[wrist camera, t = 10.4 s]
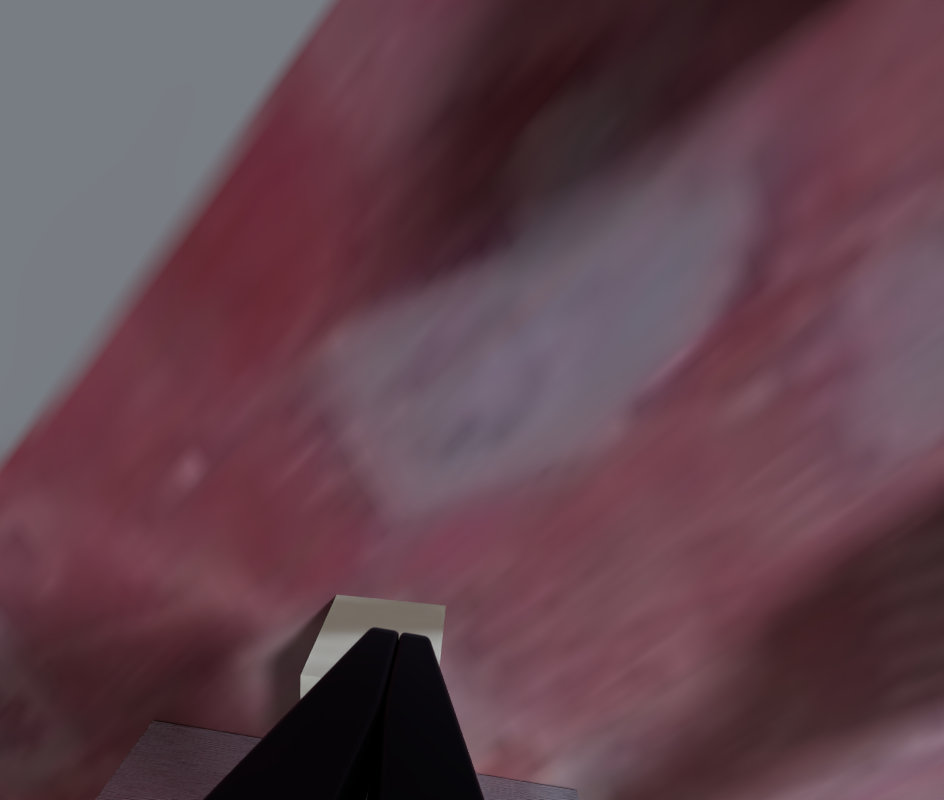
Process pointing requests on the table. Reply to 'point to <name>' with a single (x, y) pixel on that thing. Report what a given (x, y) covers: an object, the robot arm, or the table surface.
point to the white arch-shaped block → (216, 753)
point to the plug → (357, 618)
